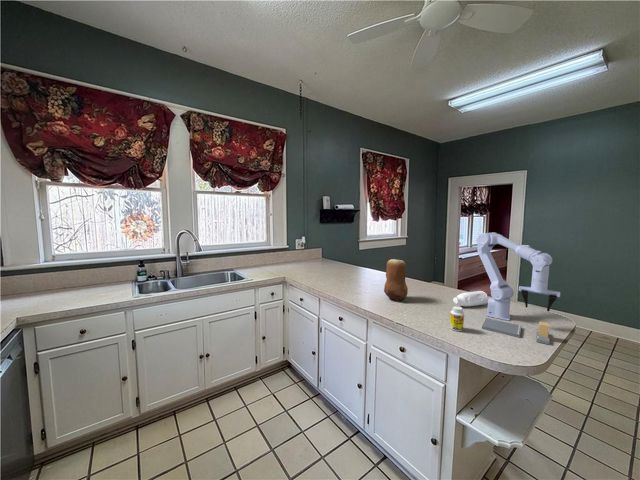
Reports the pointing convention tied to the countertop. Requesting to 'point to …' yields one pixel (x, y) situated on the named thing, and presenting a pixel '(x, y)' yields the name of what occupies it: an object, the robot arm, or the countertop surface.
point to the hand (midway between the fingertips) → (537, 308)
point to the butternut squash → (396, 280)
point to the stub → (543, 333)
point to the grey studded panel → (502, 327)
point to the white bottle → (471, 299)
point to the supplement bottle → (457, 319)
